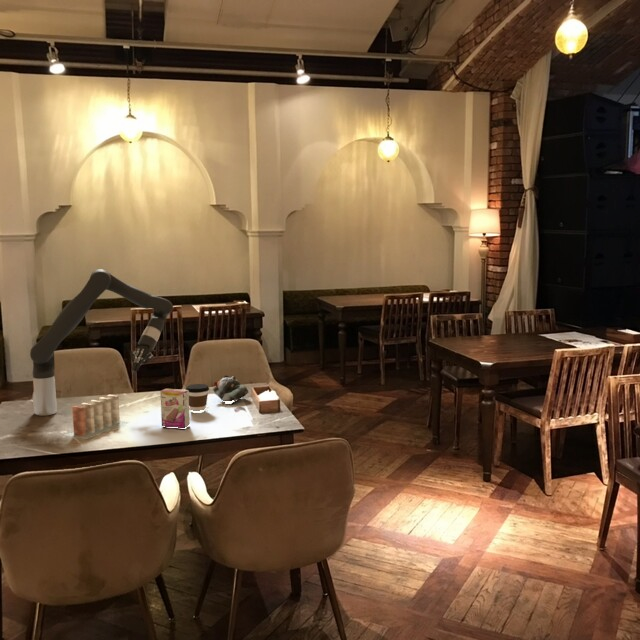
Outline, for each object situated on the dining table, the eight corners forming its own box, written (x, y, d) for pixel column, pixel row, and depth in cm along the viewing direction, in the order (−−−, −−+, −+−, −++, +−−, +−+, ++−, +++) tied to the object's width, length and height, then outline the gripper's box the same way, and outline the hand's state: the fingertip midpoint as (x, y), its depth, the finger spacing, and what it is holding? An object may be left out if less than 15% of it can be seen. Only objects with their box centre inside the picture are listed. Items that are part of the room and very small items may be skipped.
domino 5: (108, 422, 308) (107, 395, 307) (111, 421, 310) (109, 394, 308) (117, 423, 306) (115, 396, 304) (119, 422, 308) (118, 395, 306)
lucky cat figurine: (228, 406, 334) (214, 380, 334) (219, 410, 344) (205, 385, 344) (253, 392, 342) (240, 367, 342) (243, 397, 352) (231, 372, 352)
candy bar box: (161, 428, 301) (159, 390, 298) (166, 424, 306) (165, 388, 303) (185, 430, 298) (183, 392, 295) (190, 426, 303) (189, 389, 300)
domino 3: (91, 428, 299) (90, 400, 298) (94, 427, 301) (92, 399, 299) (100, 429, 297) (99, 402, 295) (103, 428, 299) (101, 401, 297)
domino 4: (100, 425, 304) (98, 398, 302) (102, 424, 305) (101, 397, 304) (109, 426, 302) (107, 399, 300) (111, 425, 303) (110, 398, 301)
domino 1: (73, 434, 291) (72, 406, 289) (76, 433, 292) (75, 405, 290) (83, 436, 288) (81, 408, 287) (85, 435, 290) (84, 407, 288)
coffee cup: (207, 415, 320) (206, 389, 318) (183, 415, 320) (182, 389, 319) (211, 408, 331) (211, 383, 329) (188, 408, 331) (187, 383, 329)
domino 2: (82, 431, 295) (81, 403, 293) (85, 430, 296) (84, 402, 295) (91, 433, 293) (90, 405, 291) (94, 432, 294) (93, 404, 292)
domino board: (63, 436, 290) (63, 435, 290) (108, 420, 313) (108, 418, 313) (85, 440, 285) (85, 439, 285) (129, 423, 308) (129, 422, 308)
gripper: (134, 333, 325) (117, 366, 317) (156, 335, 319) (140, 368, 311) (143, 341, 331) (127, 374, 323) (165, 343, 325) (149, 376, 317)
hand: (133, 371), depth 317 cm, fingers closed
